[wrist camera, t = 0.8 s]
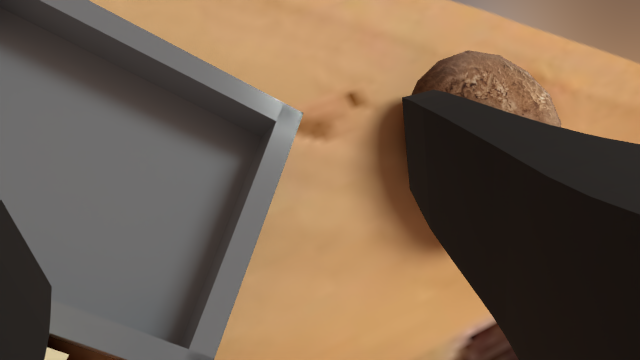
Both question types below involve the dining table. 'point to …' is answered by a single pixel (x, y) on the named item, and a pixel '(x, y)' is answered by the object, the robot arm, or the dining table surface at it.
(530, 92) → the brown rough rounded lump
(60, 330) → the slate tray
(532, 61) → the dining table surface
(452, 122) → the robot arm
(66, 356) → the cheese cube
